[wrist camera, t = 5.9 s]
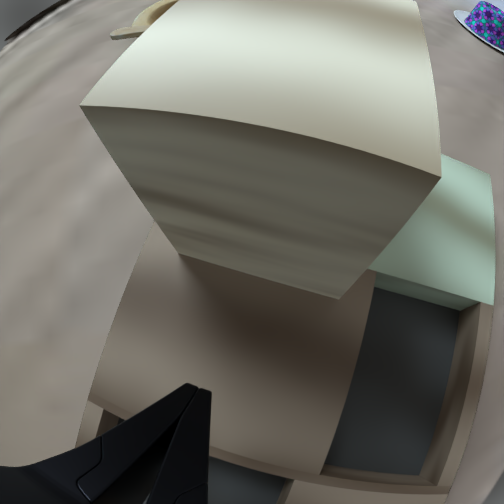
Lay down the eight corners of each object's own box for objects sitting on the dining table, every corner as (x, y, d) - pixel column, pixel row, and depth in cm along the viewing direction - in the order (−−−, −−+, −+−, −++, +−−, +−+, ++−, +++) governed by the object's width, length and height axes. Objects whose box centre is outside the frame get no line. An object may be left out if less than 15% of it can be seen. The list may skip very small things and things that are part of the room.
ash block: (338, 299, 14) (441, 177, 5) (178, 252, 16) (79, 105, 6) (367, 150, 17) (416, 2, 8) (237, 120, 19) (217, -30, 9)
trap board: (373, 586, 10) (397, 630, 5) (81, 507, 13) (31, 534, 8) (473, 193, 19) (511, 149, 14) (222, 121, 22) (212, 62, 17)
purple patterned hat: (454, 30, 28) (465, 2, 23) (450, 6, 32) (458, -18, 27) (524, 71, 26) (538, 47, 21) (511, 39, 30) (521, 18, 25)
